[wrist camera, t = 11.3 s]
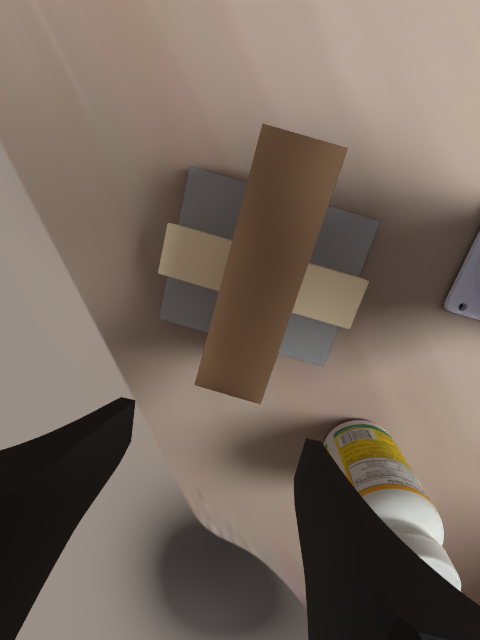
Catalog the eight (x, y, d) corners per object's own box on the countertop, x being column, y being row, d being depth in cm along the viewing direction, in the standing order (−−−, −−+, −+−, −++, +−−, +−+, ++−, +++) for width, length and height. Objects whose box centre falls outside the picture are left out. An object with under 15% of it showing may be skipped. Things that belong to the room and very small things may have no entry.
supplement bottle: (347, 405, 22) (407, 525, 13) (407, 439, 22) (506, 580, 13) (307, 455, 23) (335, 596, 14) (363, 486, 24) (426, 643, 15)
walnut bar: (327, 170, 15) (347, 148, 12) (261, 370, 19) (260, 404, 15) (263, 152, 15) (262, 123, 12) (209, 355, 19) (194, 384, 15)
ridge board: (375, 221, 18) (394, 218, 16) (321, 362, 21) (329, 379, 19) (192, 169, 19) (180, 156, 16) (162, 315, 21) (147, 326, 19)
